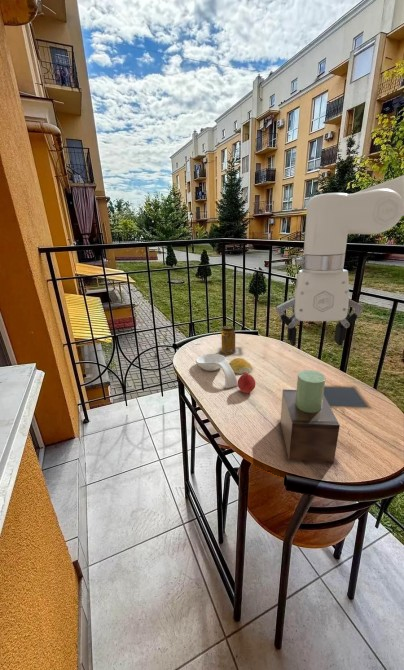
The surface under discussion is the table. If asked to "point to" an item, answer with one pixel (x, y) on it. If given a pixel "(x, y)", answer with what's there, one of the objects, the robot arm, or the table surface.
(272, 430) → the table surface
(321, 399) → the tea tin
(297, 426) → the brown block
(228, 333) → the condiment
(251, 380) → the onion
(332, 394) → the mat
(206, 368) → the spoon rest
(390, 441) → the table surface
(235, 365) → the bread roll
